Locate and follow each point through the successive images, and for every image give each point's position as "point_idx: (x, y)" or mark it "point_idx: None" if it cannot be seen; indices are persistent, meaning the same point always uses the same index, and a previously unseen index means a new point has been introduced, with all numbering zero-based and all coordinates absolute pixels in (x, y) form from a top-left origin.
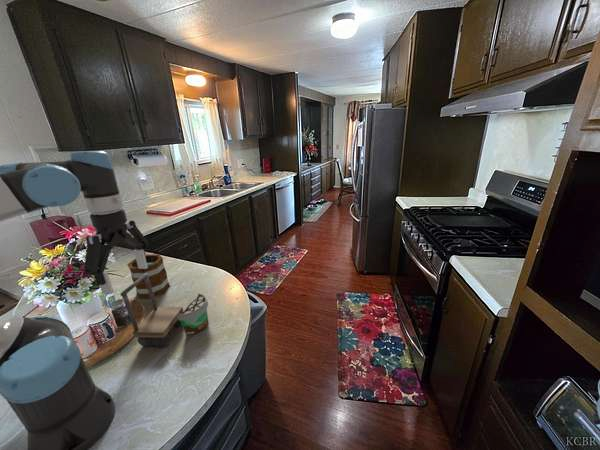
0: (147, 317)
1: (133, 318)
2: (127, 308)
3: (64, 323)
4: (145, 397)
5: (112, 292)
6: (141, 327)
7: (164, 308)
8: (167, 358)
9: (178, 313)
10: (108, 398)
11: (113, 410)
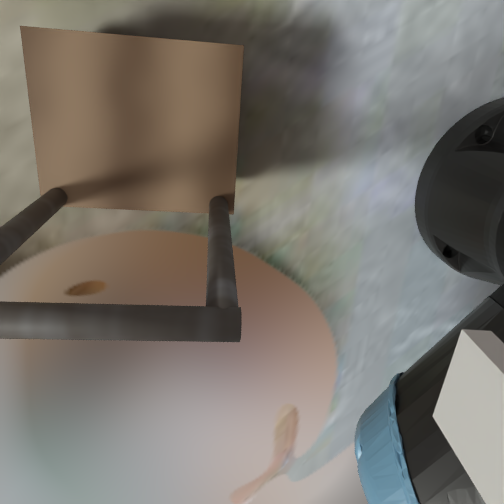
0: (128, 203)
1: (225, 221)
2: (233, 261)
3: (401, 466)
4: (449, 25)
5: (484, 334)
6: (202, 190)
7: (46, 146)
8: (285, 25)
9: (76, 31)
10: (471, 139)
11: (491, 105)
